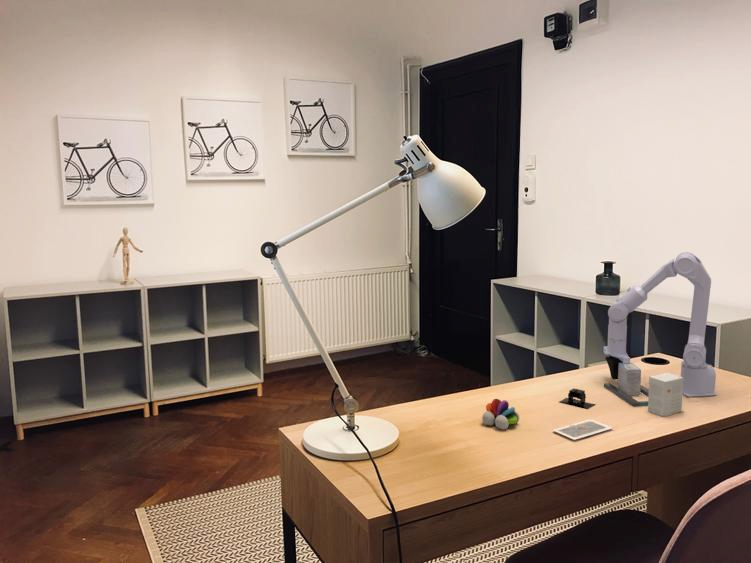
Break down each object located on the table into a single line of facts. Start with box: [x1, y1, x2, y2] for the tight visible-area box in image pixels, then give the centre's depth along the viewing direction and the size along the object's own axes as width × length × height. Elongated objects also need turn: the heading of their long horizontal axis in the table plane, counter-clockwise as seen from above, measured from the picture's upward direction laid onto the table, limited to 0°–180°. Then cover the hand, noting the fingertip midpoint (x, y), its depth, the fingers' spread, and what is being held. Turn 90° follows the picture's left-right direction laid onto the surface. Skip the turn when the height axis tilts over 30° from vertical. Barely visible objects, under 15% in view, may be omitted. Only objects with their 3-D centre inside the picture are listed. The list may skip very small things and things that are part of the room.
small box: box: [647, 372, 684, 418], centre depth 187 cm, size 8×6×10 cm
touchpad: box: [552, 418, 614, 441], centre depth 174 cm, size 8×15×2 cm, turn 121°
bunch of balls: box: [481, 398, 520, 431], centre depth 180 cm, size 8×10×7 cm
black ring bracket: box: [558, 388, 597, 410], centre depth 195 cm, size 12×7×5 cm, turn 47°
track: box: [603, 382, 649, 408], centre depth 202 cm, size 11×19×1 cm, turn 6°
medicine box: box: [617, 361, 642, 397], centre depth 204 cm, size 8×4×9 cm, turn 179°
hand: (615, 378), depth 214 cm, fingers closed
